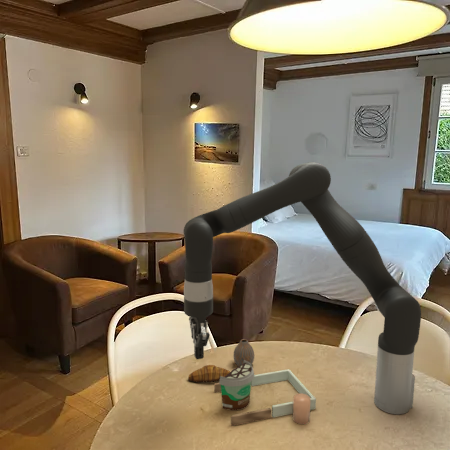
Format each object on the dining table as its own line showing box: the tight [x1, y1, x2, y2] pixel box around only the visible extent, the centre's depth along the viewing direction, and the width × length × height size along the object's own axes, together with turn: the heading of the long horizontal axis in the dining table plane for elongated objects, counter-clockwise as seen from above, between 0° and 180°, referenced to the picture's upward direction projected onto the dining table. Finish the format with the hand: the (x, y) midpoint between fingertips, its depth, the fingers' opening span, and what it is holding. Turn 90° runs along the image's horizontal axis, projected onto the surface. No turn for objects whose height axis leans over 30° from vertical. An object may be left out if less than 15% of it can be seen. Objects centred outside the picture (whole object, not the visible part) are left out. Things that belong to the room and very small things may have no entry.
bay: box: [251, 369, 317, 418], centre depth 121 cm, size 13×17×3 cm
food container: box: [218, 360, 255, 411], centre depth 117 cm, size 12×6×10 cm, turn 143°
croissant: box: [187, 364, 231, 384], centre depth 130 cm, size 14×7×5 cm, turn 99°
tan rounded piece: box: [292, 393, 311, 425], centre depth 110 cm, size 4×4×6 cm
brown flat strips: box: [213, 382, 272, 427], centre depth 117 cm, size 11×17×2 cm, turn 17°
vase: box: [233, 338, 255, 367], centre depth 138 cm, size 7×7×9 cm
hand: (199, 357), depth 111 cm, fingers closed
